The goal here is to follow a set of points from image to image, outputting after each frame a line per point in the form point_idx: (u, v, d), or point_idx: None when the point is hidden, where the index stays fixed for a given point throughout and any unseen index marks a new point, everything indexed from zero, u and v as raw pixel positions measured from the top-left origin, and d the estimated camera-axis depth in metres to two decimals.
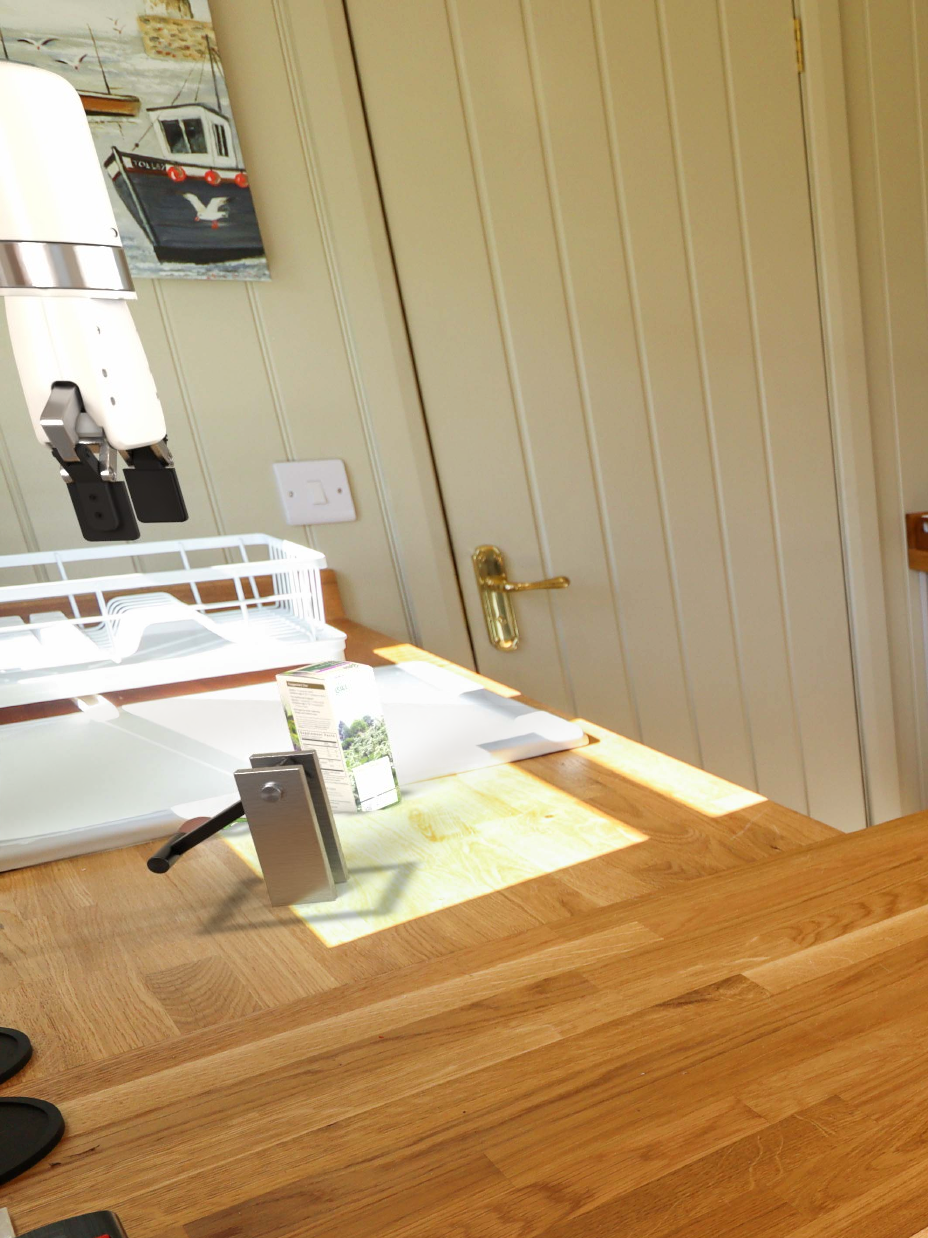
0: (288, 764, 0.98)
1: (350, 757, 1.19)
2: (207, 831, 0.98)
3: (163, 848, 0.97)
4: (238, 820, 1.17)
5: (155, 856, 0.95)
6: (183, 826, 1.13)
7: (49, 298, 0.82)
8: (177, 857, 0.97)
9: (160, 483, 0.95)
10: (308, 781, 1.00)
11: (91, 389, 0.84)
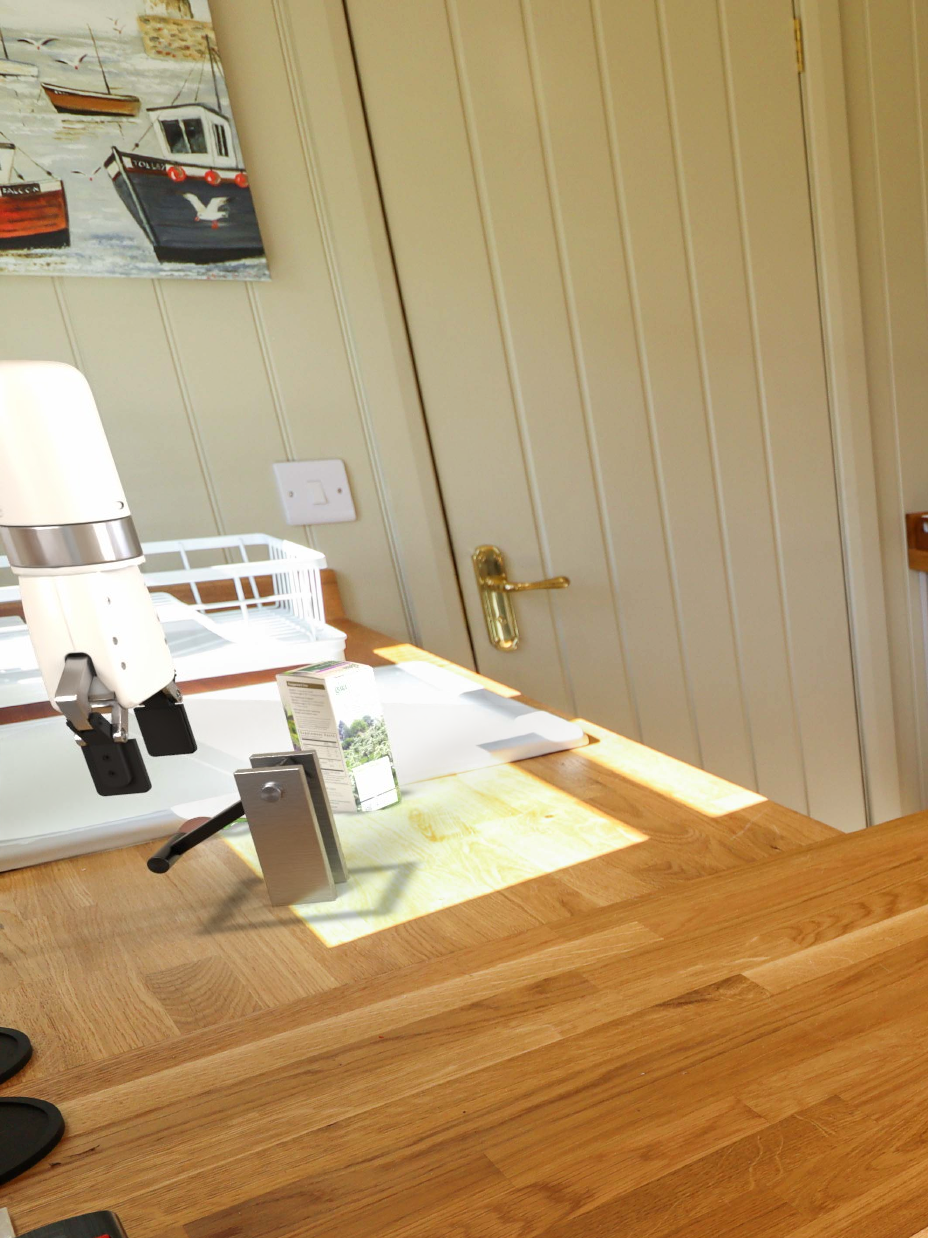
0: (288, 764, 0.98)
1: (350, 757, 1.19)
2: (207, 831, 0.98)
3: (163, 848, 0.97)
4: (238, 820, 1.17)
5: (155, 856, 0.95)
6: (183, 826, 1.13)
7: (61, 577, 0.86)
8: (177, 857, 0.97)
9: (169, 720, 0.98)
10: (308, 781, 1.00)
11: (103, 658, 0.88)
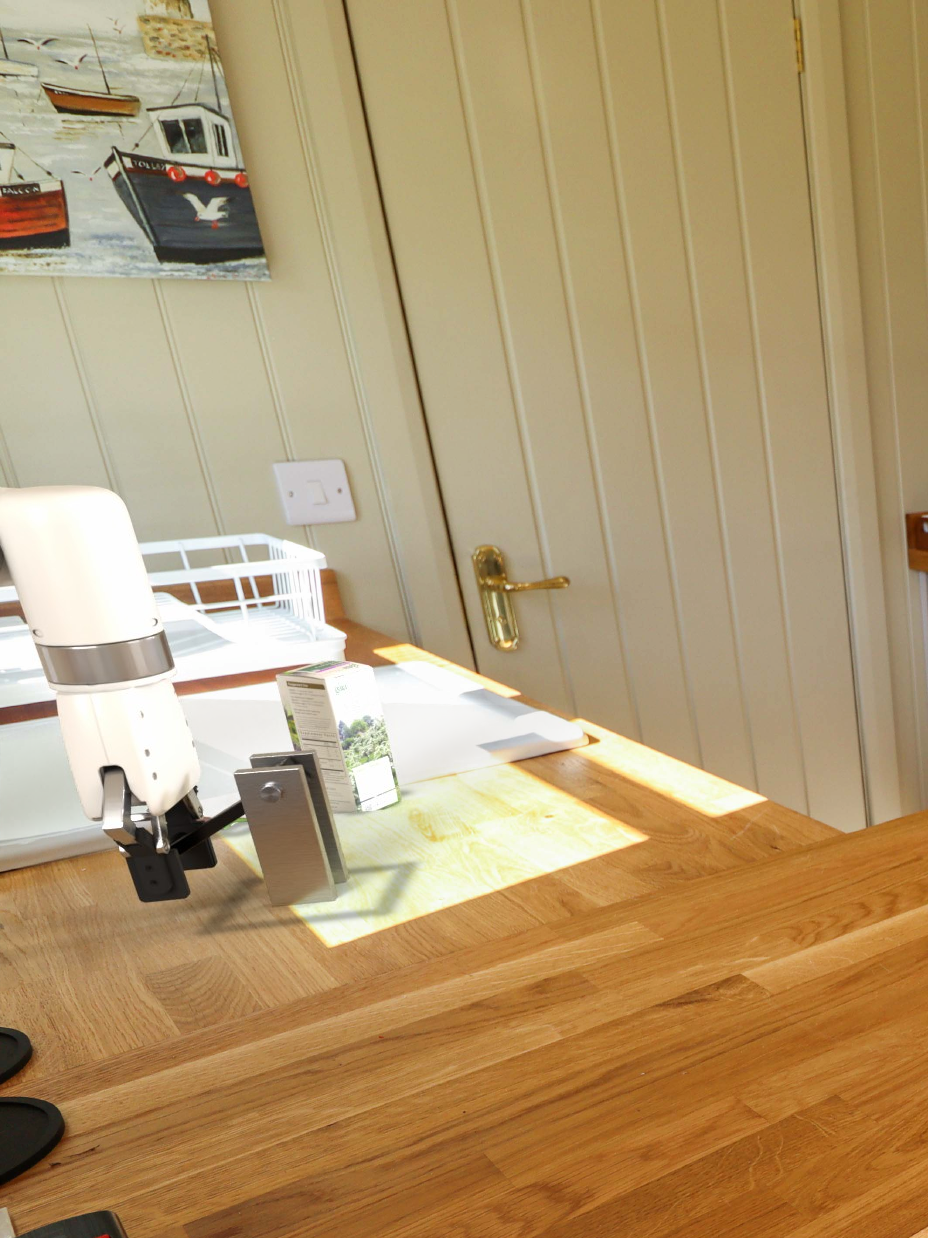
0: (288, 764, 0.98)
1: (350, 757, 1.19)
2: (207, 831, 0.98)
3: None
4: (238, 820, 1.17)
5: None
6: None
7: (97, 694, 0.89)
8: None
9: None
10: (308, 781, 1.00)
11: (135, 770, 0.91)
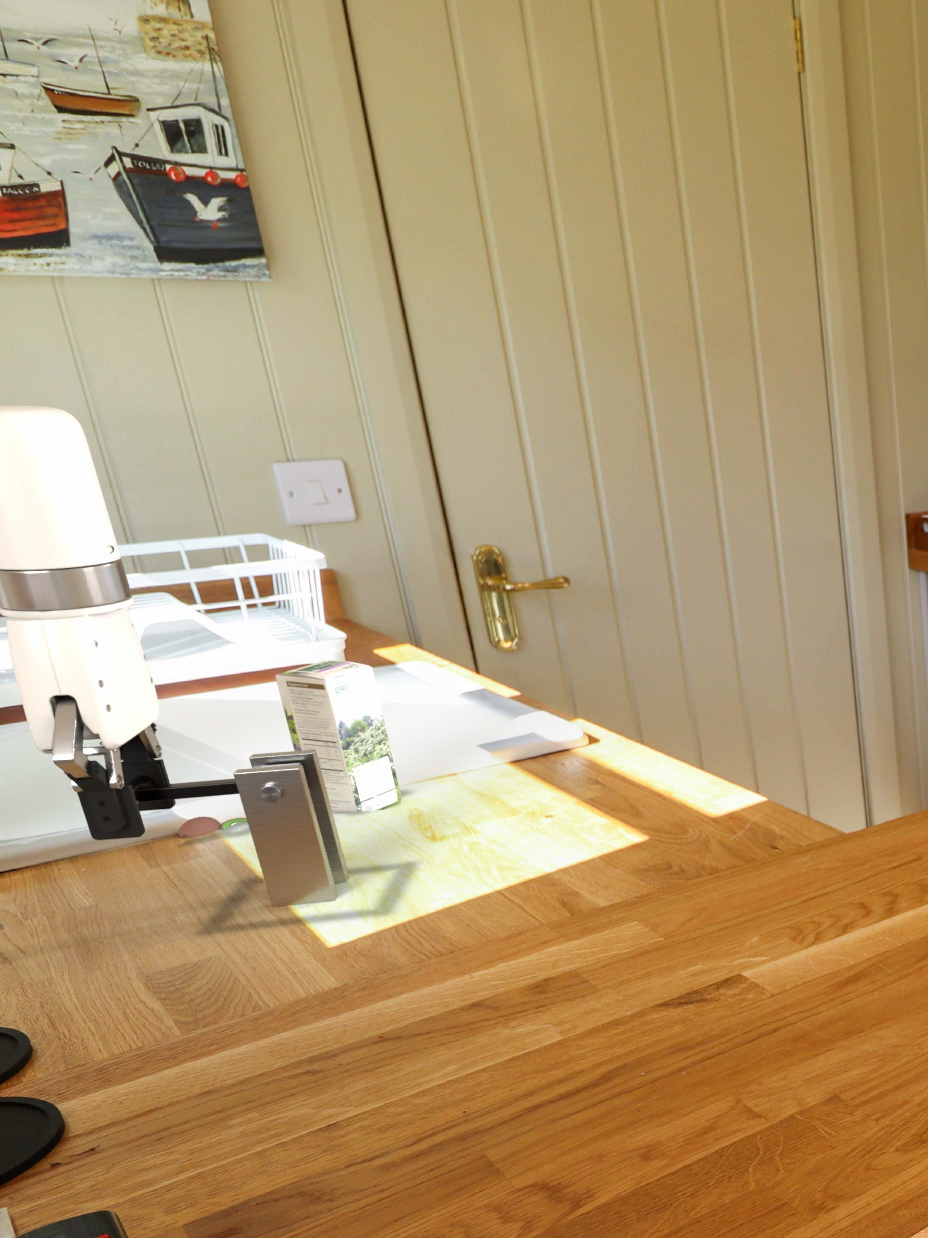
0: None
1: (350, 757, 1.19)
2: (181, 793, 0.96)
3: None
4: (238, 820, 1.17)
5: None
6: (183, 826, 1.13)
7: (49, 621, 0.86)
8: None
9: (148, 775, 0.98)
10: None
11: (88, 701, 0.88)
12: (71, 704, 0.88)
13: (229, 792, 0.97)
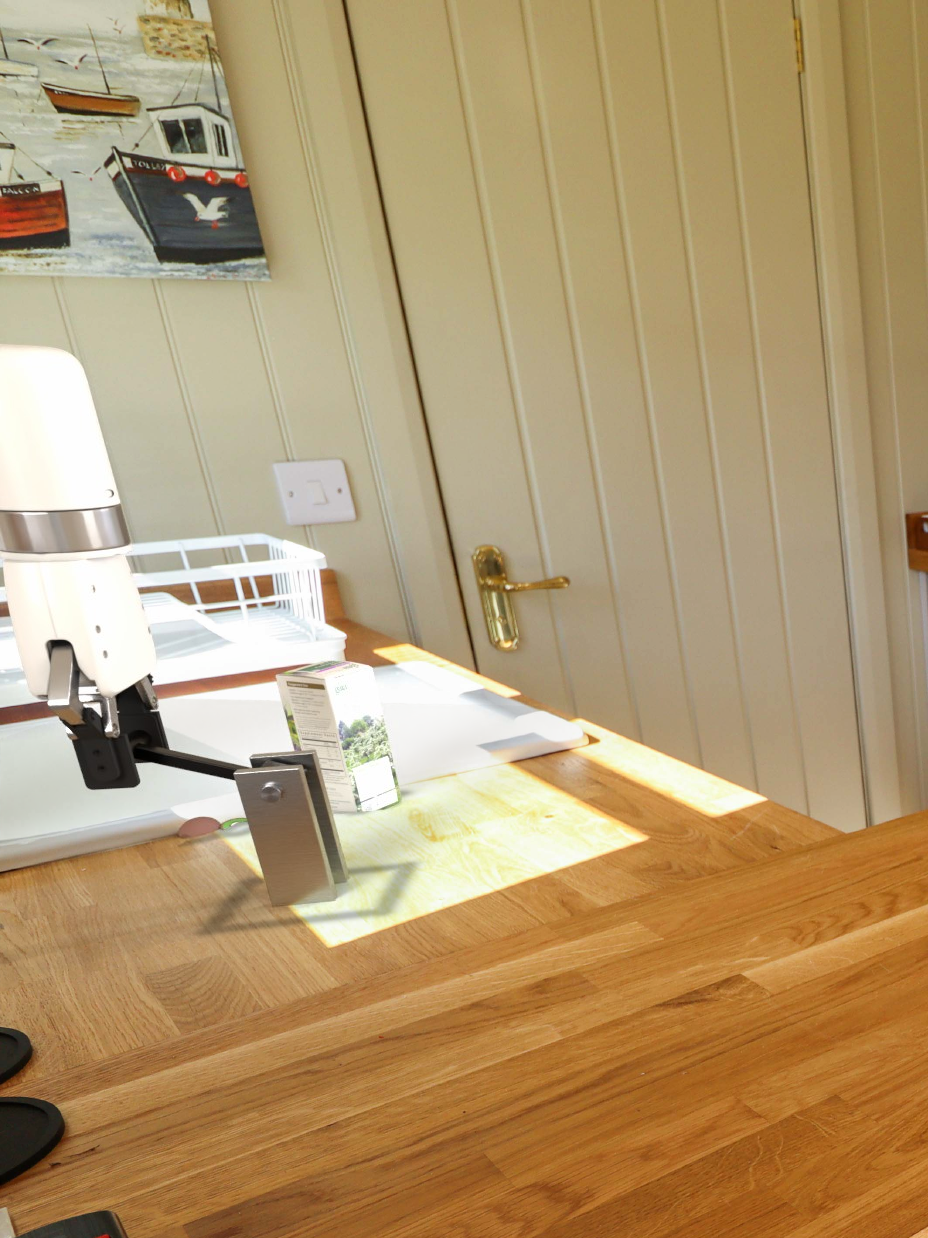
0: None
1: (350, 757, 1.19)
2: (178, 763, 0.95)
3: None
4: (238, 820, 1.17)
5: None
6: (183, 826, 1.13)
7: (46, 564, 0.85)
8: None
9: (144, 727, 0.97)
10: None
11: (84, 646, 0.87)
12: (67, 649, 0.87)
13: (226, 776, 0.97)
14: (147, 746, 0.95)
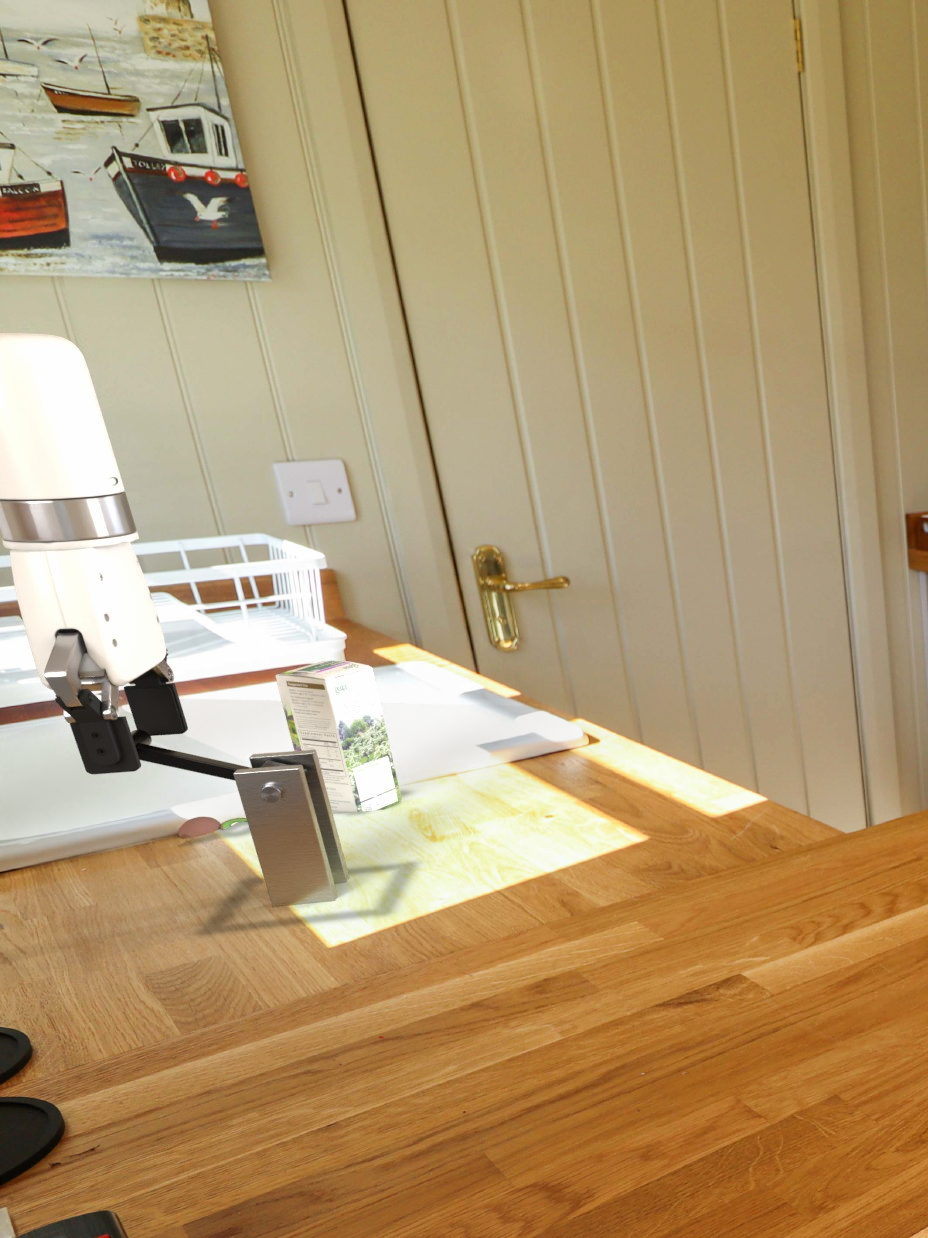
0: None
1: (350, 757, 1.19)
2: (178, 763, 0.95)
3: None
4: (238, 820, 1.17)
5: None
6: (183, 826, 1.13)
7: (53, 552, 0.85)
8: None
9: (160, 699, 0.98)
10: None
11: (94, 634, 0.87)
12: None
13: (226, 776, 0.97)
14: (147, 746, 0.95)
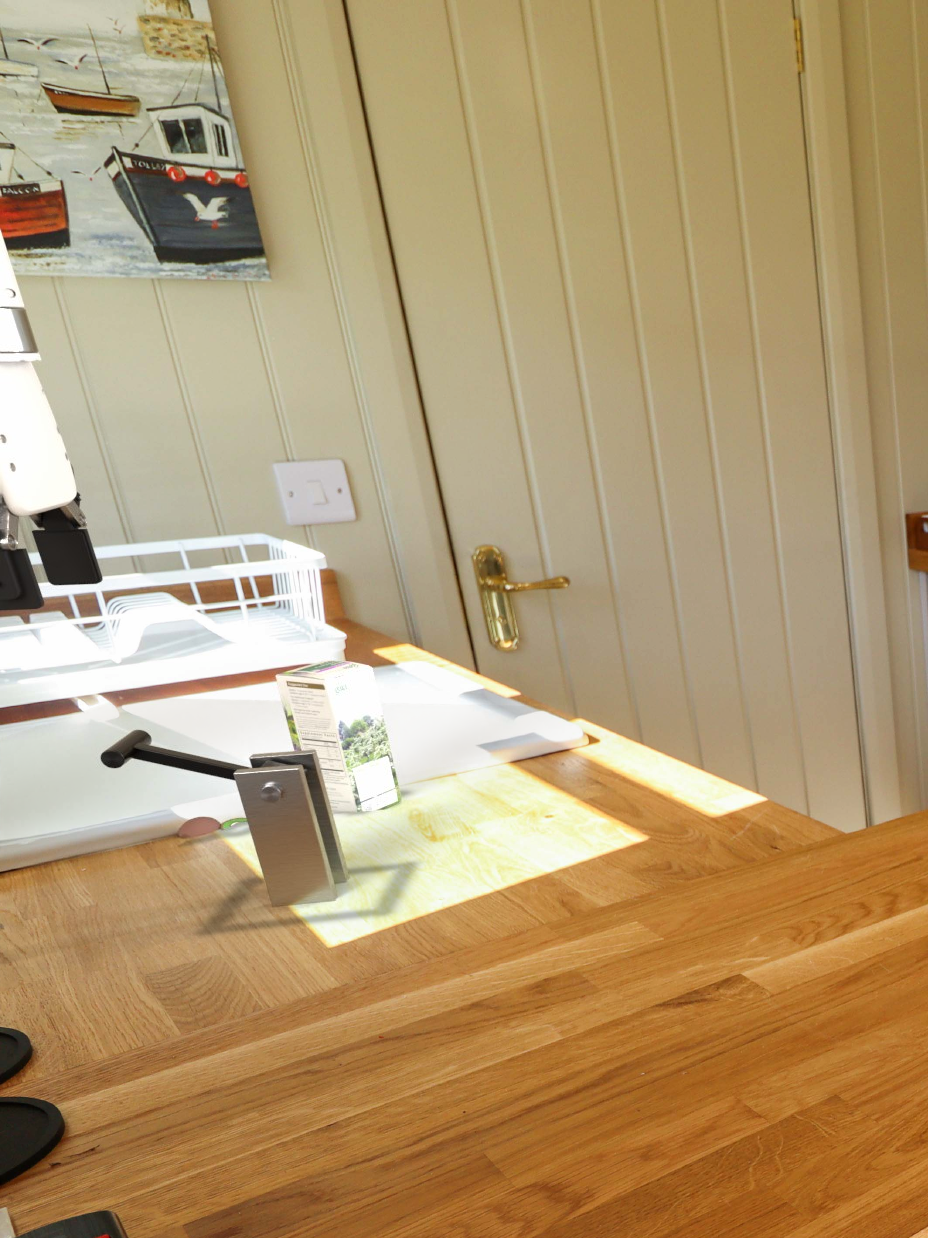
0: None
1: (350, 757, 1.19)
2: (178, 763, 0.95)
3: (128, 745, 0.94)
4: (238, 820, 1.17)
5: (119, 752, 0.92)
6: (183, 826, 1.13)
7: None
8: (129, 759, 0.94)
9: (71, 545, 0.92)
10: None
11: None
12: None
13: (226, 776, 0.97)
14: (147, 746, 0.95)
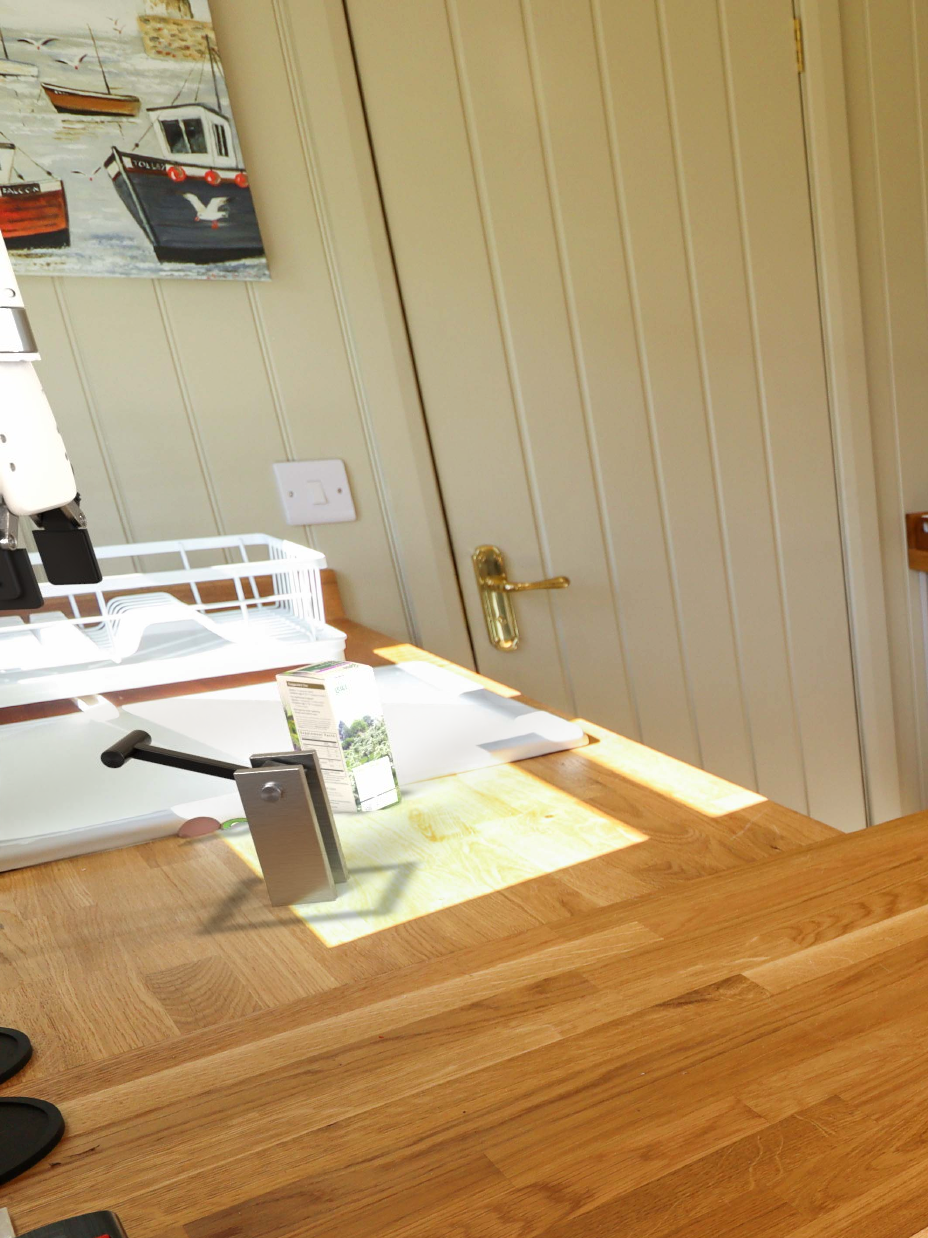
0: None
1: (350, 757, 1.19)
2: (178, 763, 0.95)
3: (128, 745, 0.94)
4: (238, 820, 1.17)
5: (119, 752, 0.92)
6: (183, 826, 1.13)
7: None
8: (129, 759, 0.94)
9: (71, 544, 0.92)
10: None
11: None
12: None
13: (226, 776, 0.97)
14: (147, 746, 0.95)
